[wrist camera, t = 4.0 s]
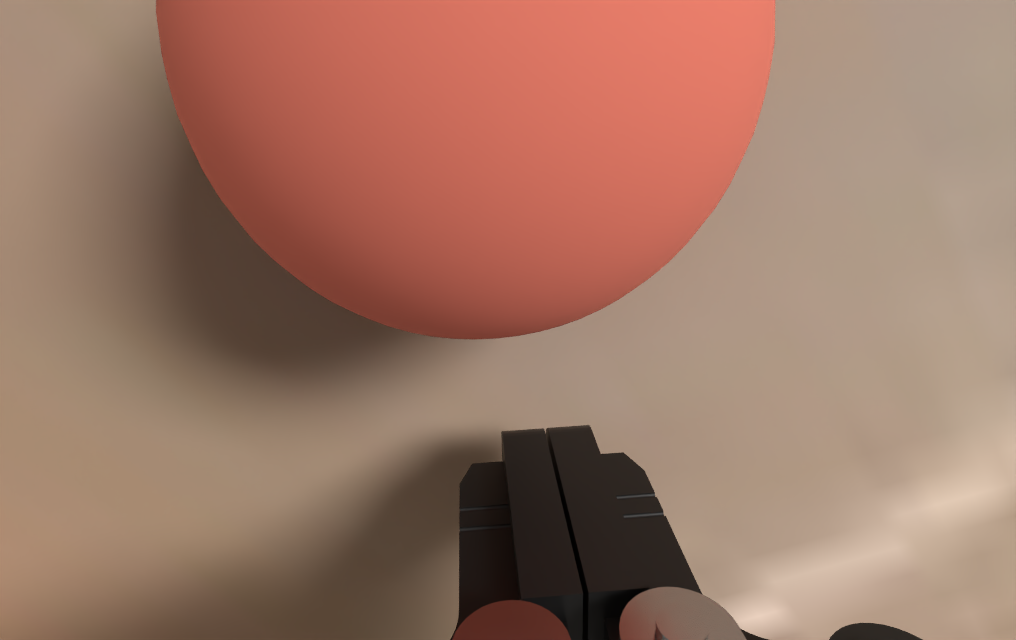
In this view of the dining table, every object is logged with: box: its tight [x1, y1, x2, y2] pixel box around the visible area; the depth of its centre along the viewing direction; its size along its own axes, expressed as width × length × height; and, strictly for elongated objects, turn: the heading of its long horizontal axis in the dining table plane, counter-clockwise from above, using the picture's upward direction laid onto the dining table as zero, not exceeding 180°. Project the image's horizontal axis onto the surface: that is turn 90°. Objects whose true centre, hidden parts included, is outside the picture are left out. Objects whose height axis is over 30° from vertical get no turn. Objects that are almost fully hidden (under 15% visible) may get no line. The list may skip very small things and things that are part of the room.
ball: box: [156, 0, 775, 339], centre depth 7 cm, size 6×6×6 cm
